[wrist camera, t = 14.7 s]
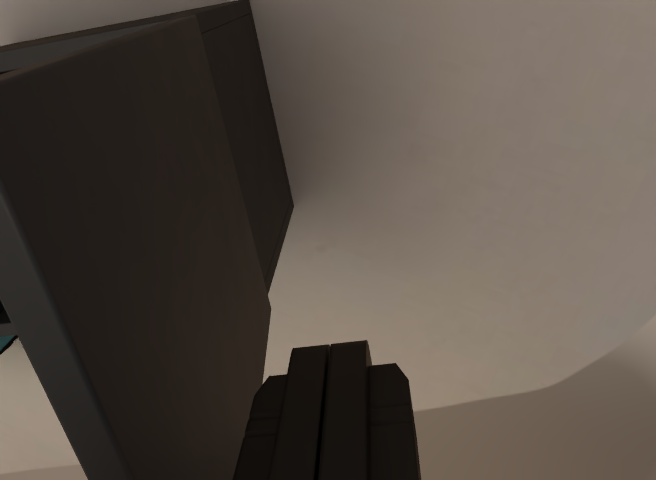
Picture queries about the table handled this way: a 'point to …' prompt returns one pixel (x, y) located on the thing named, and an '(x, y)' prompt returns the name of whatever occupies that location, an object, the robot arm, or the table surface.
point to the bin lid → (132, 255)
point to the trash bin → (235, 104)
